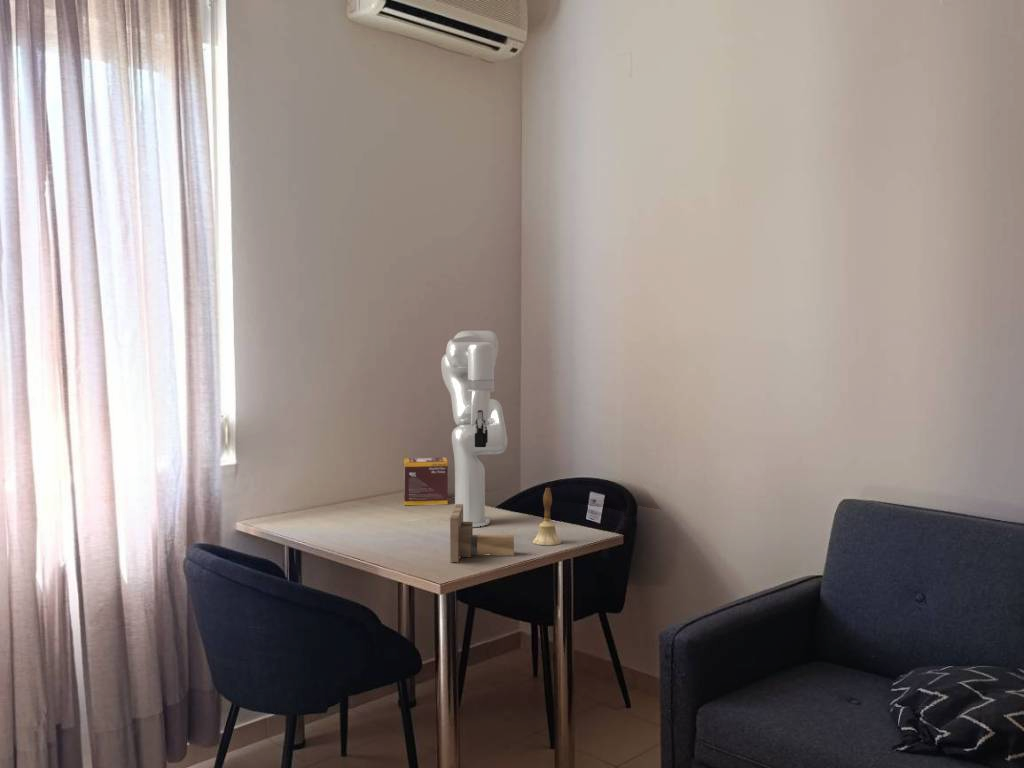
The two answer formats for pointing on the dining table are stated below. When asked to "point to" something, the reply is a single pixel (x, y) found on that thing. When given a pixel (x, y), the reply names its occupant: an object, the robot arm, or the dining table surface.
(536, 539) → the hand bell
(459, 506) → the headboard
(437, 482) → the supplement box
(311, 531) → the dining table surface
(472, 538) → the tan and gray block
